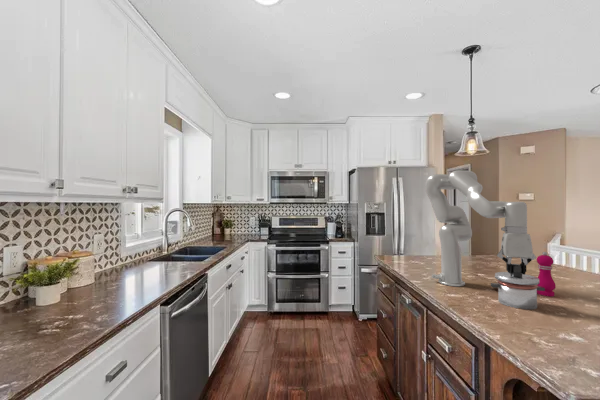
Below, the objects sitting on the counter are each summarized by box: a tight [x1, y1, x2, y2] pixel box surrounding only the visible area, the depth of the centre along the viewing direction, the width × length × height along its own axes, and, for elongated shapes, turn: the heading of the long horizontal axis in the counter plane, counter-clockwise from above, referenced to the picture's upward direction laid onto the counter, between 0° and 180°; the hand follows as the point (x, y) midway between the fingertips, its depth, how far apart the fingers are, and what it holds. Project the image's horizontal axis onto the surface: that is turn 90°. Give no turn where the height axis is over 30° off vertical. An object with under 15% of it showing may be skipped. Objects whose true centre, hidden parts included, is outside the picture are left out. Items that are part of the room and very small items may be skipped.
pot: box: [490, 279, 545, 310], centre depth 120 cm, size 19×14×9 cm
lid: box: [494, 263, 539, 285], centre depth 120 cm, size 15×15×6 cm
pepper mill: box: [536, 251, 556, 298], centre depth 131 cm, size 7×7×20 cm
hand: (516, 272), depth 120 cm, fingers closed on lid, 4 cm apart
